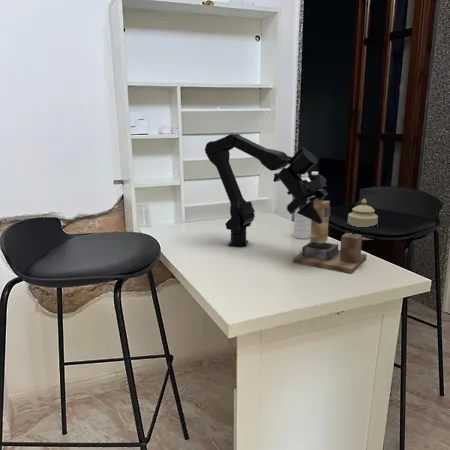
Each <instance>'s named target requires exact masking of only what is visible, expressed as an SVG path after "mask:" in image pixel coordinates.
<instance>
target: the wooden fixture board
mask: <svg viewBox="0 0 450 450" xmlns="http://www.w3.org/2000/svg"><path fill="white" fill-rule="evenodd" d="M340 238H341V240H340V249H339V244H337V243H330V242H327V241H326V242H324V243H317V242H312V241H309V242H308V243H306V244H305V245H303V246H302V247H301V252H300V253H299V254H298V255H296V256H295V257H292V258H293V259H292V260H293V261H292V263H295V264H299V265H304V266H308V267H309V266H310V267H314V268H319V269H325V270H330V271H334V272H335V271H336V272H340V273H345V274H350V275H352V274H353V273H354V272H355V271H356V270H357V269H358V268H359V267H360V266H361V265H362V264H363V263H364V262H365V261H366V260H367V254H366V253H362V242H363V240H362V235H359V234H352V233H347V232H346V233H344V234H342V236H341V237H340Z"/></svg>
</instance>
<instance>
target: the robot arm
mask: <svg viewBox="0 0 450 450" xmlns="http://www.w3.org/2000/svg"><path fill="white" fill-rule="evenodd" d="M234 148H235V149H237V150H239V151H242V152H243V153H245V154H247V155H249V156H251V157H253V158H255V159H257V160H258V161H259V162H260V164H261V165H262V166H263V167H265V168H266V169H268V170H269V171H272V172H273V171H278V170H279V172H276V173H273V175H274V177H273V182H274V183H275V182H276V183H277V182H279V181H280V182H281V183H282V185H284V187H285V188H286V189H287V192H286V193H287V195H288V196H290V195H291V196H292V197H293V199H292V200H291V201H290V203H288V204H287V205H286V211H287V212H288V214H290V215H292V214H295V212H296V211H295V210H296V209H297V208H298V207H299V208H298V209H299V211H298V212H297V214H301V215H303V216H305V217H307V218H309V219H311V221H312V220H313V221H315V222H317V223H319V224H321V223H322V220H321V218H320V217H319V215H318V214H317V212H316V210H315V209H314V207H313V205H314V201H316V200H324V199H325V197H327V195H328V194H329V193H328V191H327V190H326V189H323V188H325V187H327V183H326V182H327V179H326V178H325V177H324V176H323V175H322V174H318V175H316V176H315V177H314V179H313V180H310V182H308V181H307V180H302V178H301V176H300V175H302V174H303V175H304V174H305V173H308V171H309V170H311V169H312V167H314V166H315V165H316V164H317V163H318V160H317V157H316V156H315V154H314V153H312V152H311V151H309V150H307V149H306V148H305V147H300V148H299V149H298V150H297V152H296V153H295V154H294V155H293V156H289V155H288V154H286V153H285V152H283V151H280V150H276V149H271V148H267V147H265V146H262V145H260V144H258V143H256V142H254V141H252V140H250V139H248V138H246V137H244V136H242V135H241V134H239V133H230V134H228V135H226V136H224V137H222V138H219V139H217V140H213V141H212V140H211V141H209V142H207V143H206V145H205V148H204V153H205V155H206V156H207V158H208V160H209V161H210V162H211V163H212V164H213V165H214V166H215V168H216V170H217V173H218V175H219V177H220V180H221V182H222V183H221V184H222V185H223V187H224V191H225V193H226V195H227V197H228V200H229V203H230V208H229V214H230V218H229V219H228V220H227V222H226V223H225V228H226V230H228V231H229V230H230V241H229V243H228V246H231V247H247V246H248V243H249V240H247V228H249V227H250V226H251V224H252V222H253V221H254V219H255V217H256V216H255V212H256V210H255V209H254V207H253V203H252V202H251V201H248V202H247V201H246V200H245V199H244V197H243V195H242V191H241V190H240V187H239V185H238V184H239V183H238V181H237V179H236V177H235V174H234V171H233V169H232V166H231V164H230V156H231V155H230V151H231V150H233V149H234Z"/></svg>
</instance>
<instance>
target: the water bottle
mask: <svg viewBox="0 0 450 450" xmlns="http://www.w3.org/2000/svg"><path fill="white" fill-rule="evenodd" d="M311 175H312V176H319V171H311ZM300 177H301V178H302V180H307V181H308V182H310V181H311V179H310V177H309V172H306V173H305V174H304V175H303V174H301V176H300ZM298 208H299V207H298ZM298 208H297V209H296V210H295V211H296V212H295V213H294V227H293V229H294V230H293V237H294V238H296V239H298V240H301V239H302V240H307V239H311V221H312V220H311V219H309V218H307V217H305V216H303V215H301V214H297V212H298V211H299V209H298Z"/></svg>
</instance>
